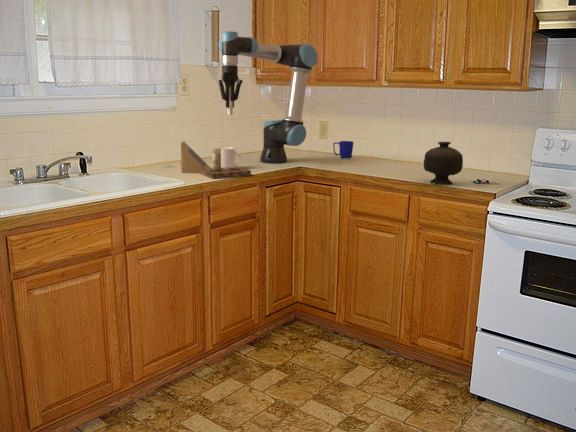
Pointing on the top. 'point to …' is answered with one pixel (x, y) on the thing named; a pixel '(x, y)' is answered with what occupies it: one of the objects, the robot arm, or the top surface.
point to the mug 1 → (228, 157)
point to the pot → (443, 162)
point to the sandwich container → (191, 160)
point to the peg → (216, 160)
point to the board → (226, 172)
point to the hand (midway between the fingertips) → (229, 114)
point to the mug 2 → (345, 149)
